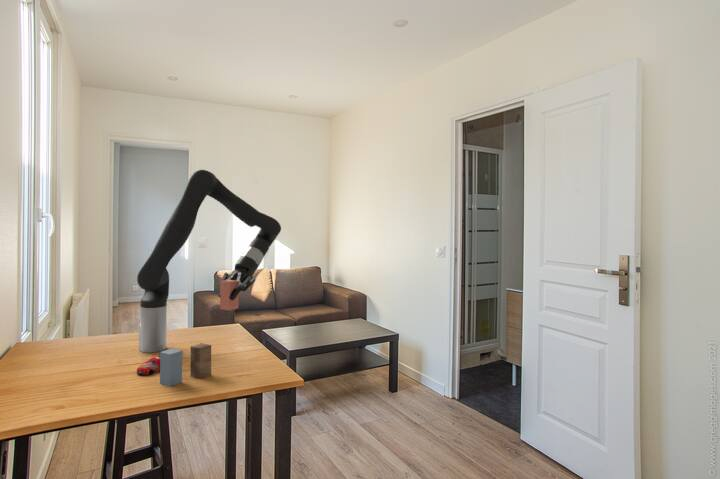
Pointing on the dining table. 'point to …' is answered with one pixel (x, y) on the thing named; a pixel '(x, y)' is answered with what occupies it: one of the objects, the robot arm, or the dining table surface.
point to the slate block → (170, 367)
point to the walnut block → (200, 361)
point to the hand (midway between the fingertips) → (225, 297)
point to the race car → (149, 366)
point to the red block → (225, 291)
